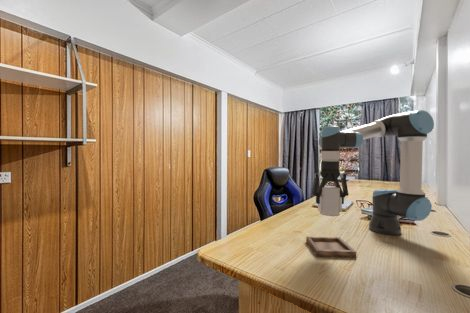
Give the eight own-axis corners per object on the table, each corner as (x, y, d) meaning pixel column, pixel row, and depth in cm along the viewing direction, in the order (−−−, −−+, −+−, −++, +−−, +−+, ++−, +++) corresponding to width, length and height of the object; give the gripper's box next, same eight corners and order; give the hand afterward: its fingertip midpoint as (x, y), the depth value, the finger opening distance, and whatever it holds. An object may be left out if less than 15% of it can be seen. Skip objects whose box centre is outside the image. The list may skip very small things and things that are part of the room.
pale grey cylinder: (341, 216, 95) (342, 189, 95) (321, 215, 97) (322, 188, 97) (337, 212, 103) (337, 186, 103) (318, 211, 105) (318, 185, 105)
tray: (339, 242, 108) (339, 237, 108) (356, 257, 92) (356, 251, 92) (306, 241, 108) (306, 236, 108) (317, 256, 92) (317, 250, 92)
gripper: (349, 160, 103) (349, 209, 103) (304, 160, 104) (303, 208, 104) (358, 161, 96) (357, 213, 96) (309, 160, 96) (308, 212, 97)
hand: (329, 211), depth 100 cm, fingers closed on pale grey cylinder, 8 cm apart
